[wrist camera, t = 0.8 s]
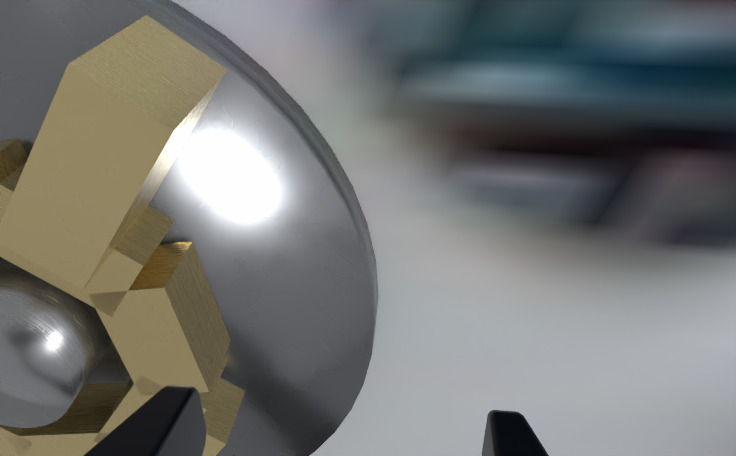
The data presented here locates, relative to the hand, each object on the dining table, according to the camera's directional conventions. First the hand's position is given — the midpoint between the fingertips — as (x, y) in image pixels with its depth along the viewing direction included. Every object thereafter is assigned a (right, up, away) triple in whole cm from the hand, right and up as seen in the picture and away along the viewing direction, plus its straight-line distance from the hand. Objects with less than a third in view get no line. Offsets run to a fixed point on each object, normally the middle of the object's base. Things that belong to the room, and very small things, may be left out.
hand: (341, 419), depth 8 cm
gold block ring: (-10, +1, +13) cm, 16 cm away
